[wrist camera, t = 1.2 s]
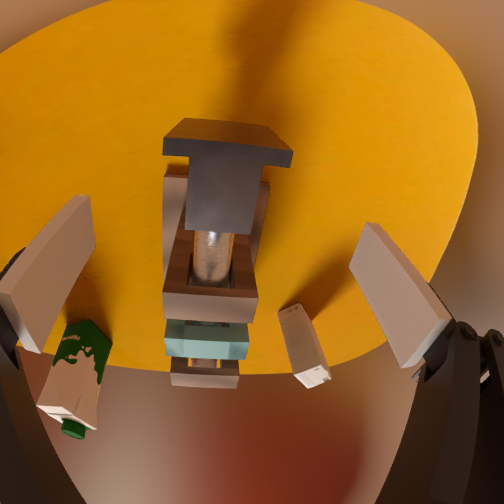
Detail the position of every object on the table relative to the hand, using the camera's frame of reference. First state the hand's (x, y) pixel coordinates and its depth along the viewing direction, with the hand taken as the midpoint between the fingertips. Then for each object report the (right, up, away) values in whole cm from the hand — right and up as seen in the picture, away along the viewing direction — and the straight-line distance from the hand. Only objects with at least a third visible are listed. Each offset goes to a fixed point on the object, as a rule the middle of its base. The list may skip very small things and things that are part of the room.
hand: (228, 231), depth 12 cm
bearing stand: (-5, -2, +25) cm, 26 cm away
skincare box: (+8, -12, +33) cm, 36 cm away
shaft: (-3, -2, +17) cm, 17 cm away
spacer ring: (-4, -6, +20) cm, 21 cm away
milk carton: (-29, -16, +32) cm, 46 cm away
